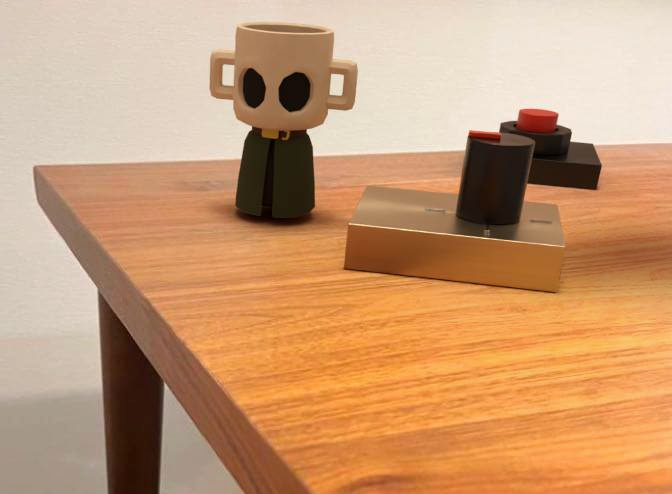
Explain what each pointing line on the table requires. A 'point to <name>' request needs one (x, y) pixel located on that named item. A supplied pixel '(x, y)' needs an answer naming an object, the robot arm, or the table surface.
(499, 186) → the knob
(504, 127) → the button box
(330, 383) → the table surface
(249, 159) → the character mug
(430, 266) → the panel
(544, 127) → the button
